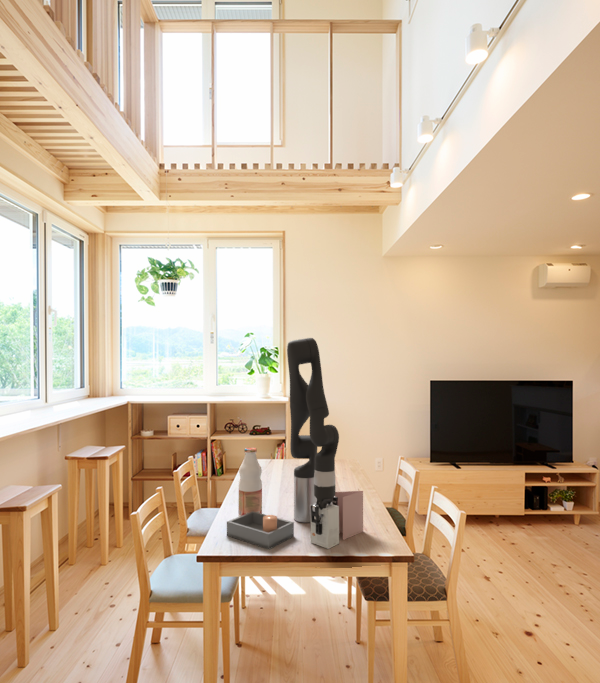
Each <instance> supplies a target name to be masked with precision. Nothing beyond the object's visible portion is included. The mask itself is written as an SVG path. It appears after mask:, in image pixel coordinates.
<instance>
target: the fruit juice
mask: <svg viewBox="0 0 600 683" xmlns="http://www.w3.org/2000/svg"><path fill="white" fill-rule="evenodd" d="M238 470H239V471H238V473H239V481H238V516H237V517H240V516H242V515H245V514H247V513H250V512H252V511H254V512H258V513H261V514H263V483H262V482H263V481H262V479H261V476H262V473H263V472H262V471H263V470H262V466H261V465H260V462H259V460H258V458H257V448H256V447H245V448H244V457H243V461H242V463H241V465H240V467H239V469H238Z"/></svg>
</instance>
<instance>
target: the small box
mask: <svg viewBox="0 0 600 683" xmlns="http://www.w3.org/2000/svg"><path fill="white" fill-rule="evenodd" d="M313 505H315V504H313ZM319 514H324V516H323V518H322V534H321V535H318V534H316V523H313V522H310V543H311V544H313V545H317V546H319V547H322V548H325V549H328V550H329V549H331V548H332V547H335V546H337V545H339V544H340V533H339V506H336V505H332V506H328V508H323V509H322V510H321V509H320V508H319ZM314 519H315V516H314ZM319 520H320V516H319Z"/></svg>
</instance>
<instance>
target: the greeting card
mask: <svg viewBox="0 0 600 683" xmlns="http://www.w3.org/2000/svg"><path fill="white" fill-rule="evenodd" d="M335 497H338V506H339V534H342V540H343V541H344V540H346V539H348V538H351V537H354V536H356V535H358V534H361V533H363V532H364V490H352V491H351V490H350V491H335Z"/></svg>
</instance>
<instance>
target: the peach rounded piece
mask: <svg viewBox="0 0 600 683" xmlns="http://www.w3.org/2000/svg"><path fill="white" fill-rule="evenodd" d="M265 515H266V516H264V517H263V531H264V532H268V533H269V532H271V531H273V530H275V529H277V518H278V516H277V515H274V514H265Z"/></svg>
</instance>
